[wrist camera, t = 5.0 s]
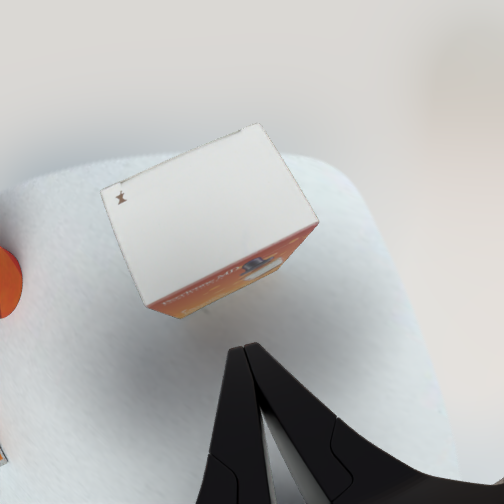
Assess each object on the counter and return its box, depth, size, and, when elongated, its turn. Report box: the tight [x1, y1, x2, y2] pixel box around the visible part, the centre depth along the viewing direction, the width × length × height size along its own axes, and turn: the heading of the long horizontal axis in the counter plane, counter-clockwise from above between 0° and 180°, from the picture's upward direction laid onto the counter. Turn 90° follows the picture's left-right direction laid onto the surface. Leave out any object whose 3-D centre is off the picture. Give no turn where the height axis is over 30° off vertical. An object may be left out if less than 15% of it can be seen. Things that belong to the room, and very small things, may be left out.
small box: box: [100, 123, 319, 319], centre depth 18 cm, size 8×6×10 cm
